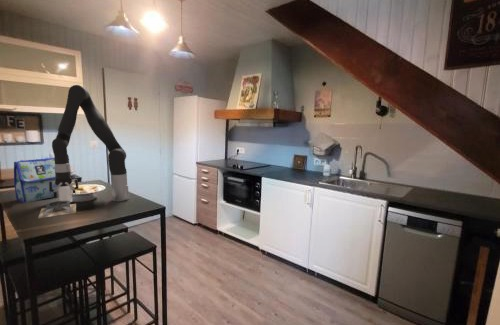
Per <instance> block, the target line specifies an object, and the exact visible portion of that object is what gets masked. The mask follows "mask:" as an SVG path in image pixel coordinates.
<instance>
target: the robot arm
mask: <svg viewBox="0 0 500 325" xmlns="http://www.w3.org/2000/svg"><path fill="white" fill-rule="evenodd" d="M66 99H67V100H66V104H65V107H64V112H63V115H62V117H61V120H60V123H59V126H58V127H57V135H56V136H55V138H54V139H53V140H52V142H51V149H52V153H53V156H54V157H53V158H54V160H55V177H56V181H50V182H49V191H50V192H53V193H54V197H53V198H55V199H57V198H58V196H57V192H56V191H57V190H58V188H59V187H60V186H67V185H69V187H70V188H71V191H72V194H73V193H75V194H76V190H78V189H79V182H78V179H77V178H75V179H72V173H71V166H70V158H69V157H70V156H69V154H68V146H69V143H70V141H71V136H72V135H73V134H72V133H73V132H74V129H75V126H76V124H77V123H76V122H77V116H78V112H79V109H80V108H81V109H82V112H83V113H84V115H85V119H86V121H87V123H88V126H89V128H90V129H91V130H92V132H93V134H94V135H95V136H96V137H97V138H98V140H100V141H101V142H102V143H103V144H104V146H105V147H106V149H107V151H108V152H109V153H108V156H107V157H108V158H107V159H108V160H107V161H108V167H109V172H110V183H111V184H110V185H111V187H110V188H111V196H112V198H111V200H112V201H113V202H124V201H127V200H130V199H129V198H130V196H129V195H130V194H129V185H128V174H127V173H128V172H127V168H126V158H127V152H126V151H125V150H124V149H123V147H122V146H121V144H120V143H119V142H118V140H117V138H115V137H116V136H115V135H114V133H113V131H112V129H111V127H110V126H109V124H108V123H107V121H106V120H105V118H104V116H103V115H102V113H101V112H100V111H99V109H98V108H97V107H96V105H95V104H94V101H93V100H92V98H91V95H90V92H89V91H88V90H87V88H85V87H84V86H81V85H80V84H79V85H78V84H74V85H71V86H70V87H69V89H68V93H67V98H66ZM54 183H55V184H56V185H57V187H56V188H55V189H52V185H54ZM72 183H73V184H75V186H73V184H72Z"/></svg>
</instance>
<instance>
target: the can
mask: <svg viewBox="0 0 500 325" xmlns="http://www.w3.org/2000/svg"><path fill="white" fill-rule="evenodd" d="M58 193H59V196H58V201H70V203H73V192H72V189H71V188H70V187H69V185H67V186H60V187H59V188H58ZM71 193H72V195H70V194H71Z"/></svg>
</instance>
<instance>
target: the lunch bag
mask: <svg viewBox="0 0 500 325" xmlns="http://www.w3.org/2000/svg"><path fill="white" fill-rule="evenodd" d="M13 179H14V180H13V181H14V182H13V185H14V192H15V199H16V200H17V201H18V202H21V203H23V204H25V203H32V202H36V201H42V200H46V199H51V198H52V199H53V198H55V197H54V193H53V192H50V191H49V182H50V181H56V177H55V160H54V157H48V158H40V159H39V158H38V159H37V158H36V159H25V160H23V159H21V160H18V161H14V162H13ZM56 187H57V185H56V184H55V183H54V185H52V189H55V188H56ZM56 192H57V197H59V193H58V190H57V191H56Z"/></svg>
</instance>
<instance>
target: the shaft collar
mask: <svg viewBox="0 0 500 325" xmlns="http://www.w3.org/2000/svg"><path fill="white" fill-rule="evenodd" d="M70 204H71V202H70V201H59V200H57V201H53V202H49V203H47V204H46V205H45V206H46V207H45V208H47V210H46V211H44V212H42V213H43V216H49V215H51V214H52V213H54V212H57V211H63V212H65V213H70V212H72V208H70ZM70 214H71V213H70Z"/></svg>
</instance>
